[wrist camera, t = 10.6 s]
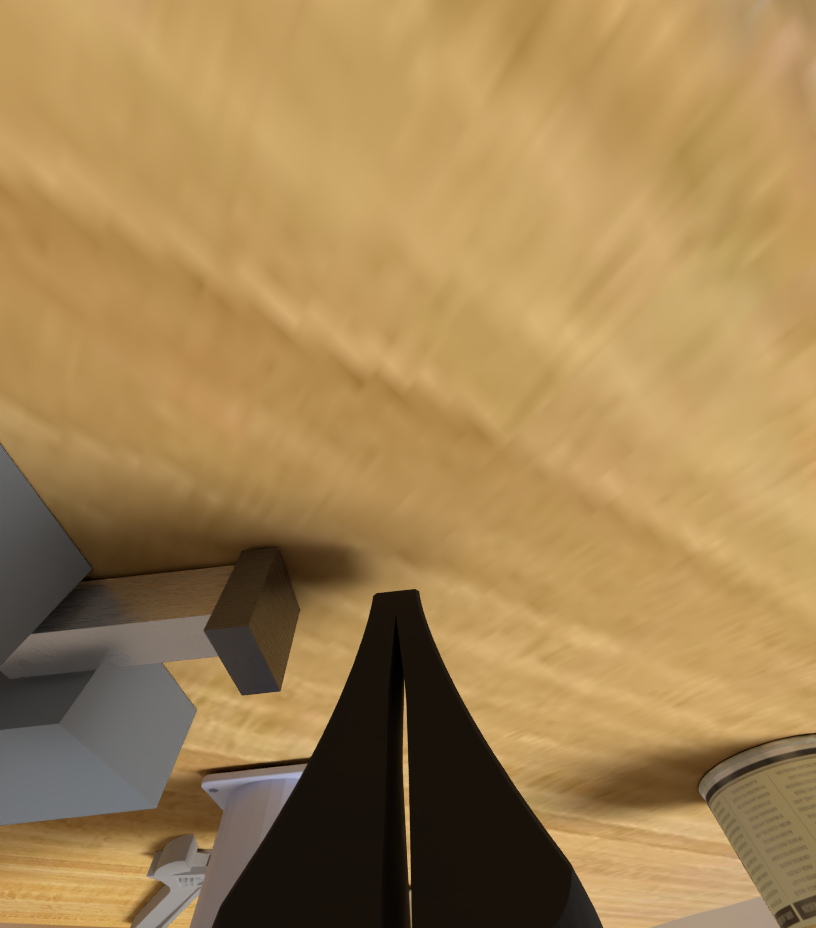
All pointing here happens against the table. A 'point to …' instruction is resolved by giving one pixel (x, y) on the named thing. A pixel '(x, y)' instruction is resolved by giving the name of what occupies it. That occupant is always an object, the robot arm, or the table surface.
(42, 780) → the mount board
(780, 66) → the table surface
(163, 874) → the adjustable wrench
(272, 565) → the lock pin
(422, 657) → the robot arm
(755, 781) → the coffee can
